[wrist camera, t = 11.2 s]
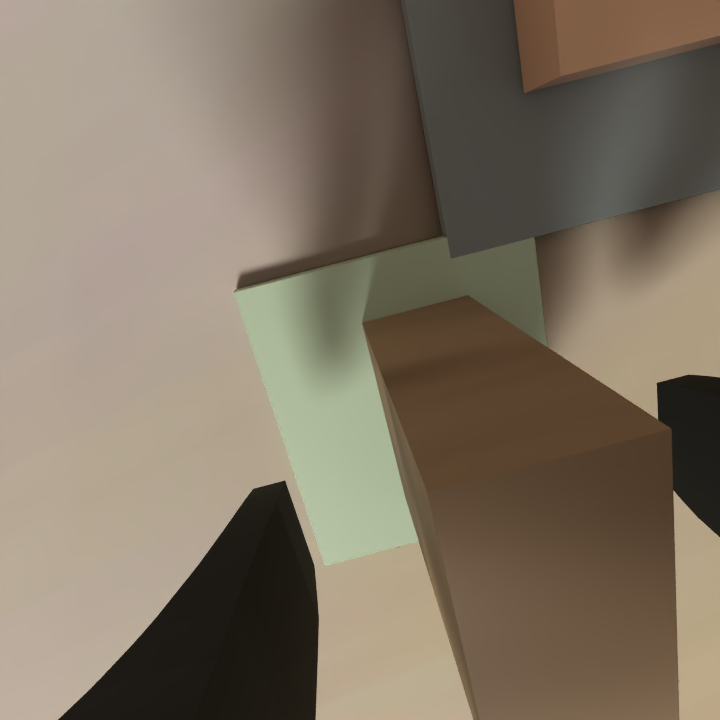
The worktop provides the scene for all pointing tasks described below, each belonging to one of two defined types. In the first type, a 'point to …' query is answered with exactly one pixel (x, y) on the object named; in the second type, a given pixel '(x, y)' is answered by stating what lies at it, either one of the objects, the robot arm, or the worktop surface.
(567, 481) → the walnut block
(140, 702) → the robot arm
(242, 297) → the rest pad
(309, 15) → the worktop surface
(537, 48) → the tile
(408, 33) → the mat
